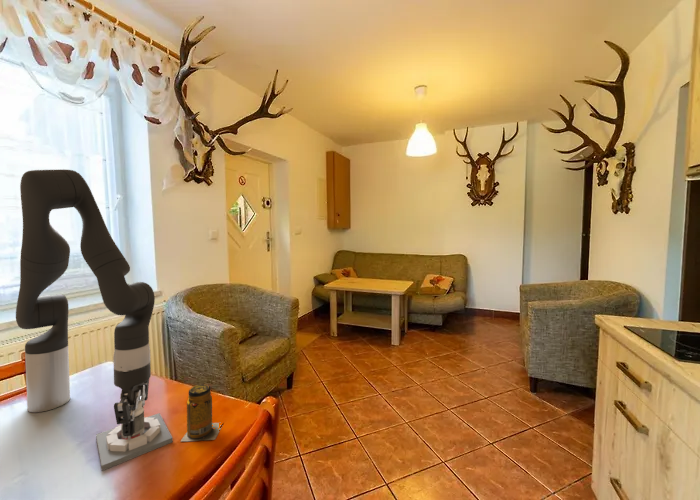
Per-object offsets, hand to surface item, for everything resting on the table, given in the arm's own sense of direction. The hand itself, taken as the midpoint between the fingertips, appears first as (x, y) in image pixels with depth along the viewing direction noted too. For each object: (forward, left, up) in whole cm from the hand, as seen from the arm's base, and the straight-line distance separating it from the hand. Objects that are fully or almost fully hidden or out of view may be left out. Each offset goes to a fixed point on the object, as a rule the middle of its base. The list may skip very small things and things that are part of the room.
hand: (133, 427), depth 78 cm
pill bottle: (0, 0, -2) cm, 2 cm away
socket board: (0, 0, -3) cm, 3 cm away
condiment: (+8, +14, -4) cm, 17 cm away
